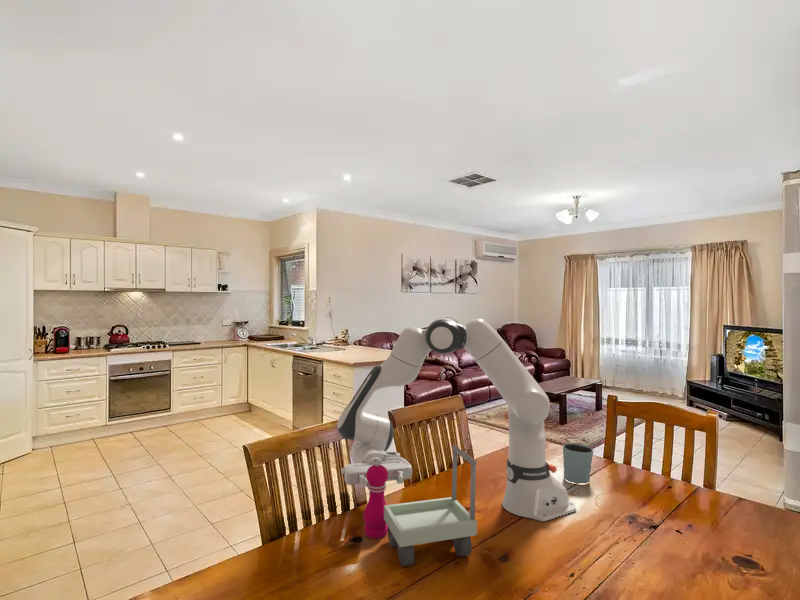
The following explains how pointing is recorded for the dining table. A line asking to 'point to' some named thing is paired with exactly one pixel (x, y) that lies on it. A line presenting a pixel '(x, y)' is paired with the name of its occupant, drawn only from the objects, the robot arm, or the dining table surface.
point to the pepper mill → (376, 501)
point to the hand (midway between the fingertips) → (384, 482)
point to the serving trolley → (433, 519)
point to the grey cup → (577, 462)
